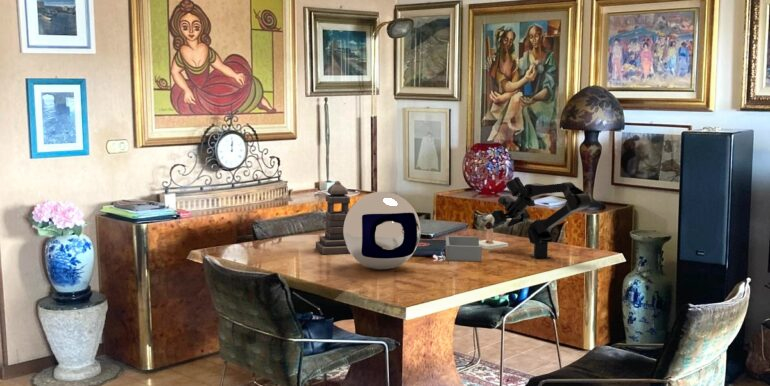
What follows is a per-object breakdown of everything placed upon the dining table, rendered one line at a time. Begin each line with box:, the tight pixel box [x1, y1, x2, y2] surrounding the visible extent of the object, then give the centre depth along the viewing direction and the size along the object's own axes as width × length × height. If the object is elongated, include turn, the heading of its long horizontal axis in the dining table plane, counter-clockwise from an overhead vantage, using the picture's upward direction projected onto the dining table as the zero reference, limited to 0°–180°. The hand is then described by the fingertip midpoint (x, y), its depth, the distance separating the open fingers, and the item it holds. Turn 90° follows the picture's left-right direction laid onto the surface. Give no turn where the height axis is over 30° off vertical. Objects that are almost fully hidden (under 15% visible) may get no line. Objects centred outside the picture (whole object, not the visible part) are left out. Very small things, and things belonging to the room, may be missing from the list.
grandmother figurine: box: [484, 214, 494, 244], centre depth 395 cm, size 8×4×13 cm, turn 30°
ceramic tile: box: [479, 239, 509, 250], centre depth 396 cm, size 12×12×2 cm
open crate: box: [445, 235, 483, 262], centre depth 374 cm, size 14×23×6 cm, turn 177°
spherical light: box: [343, 191, 422, 271], centre depth 344 cm, size 30×29×30 cm
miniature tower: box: [315, 180, 351, 256], centre depth 379 cm, size 16×15×30 cm
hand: (500, 227), depth 389 cm, fingers open, 9 cm apart
